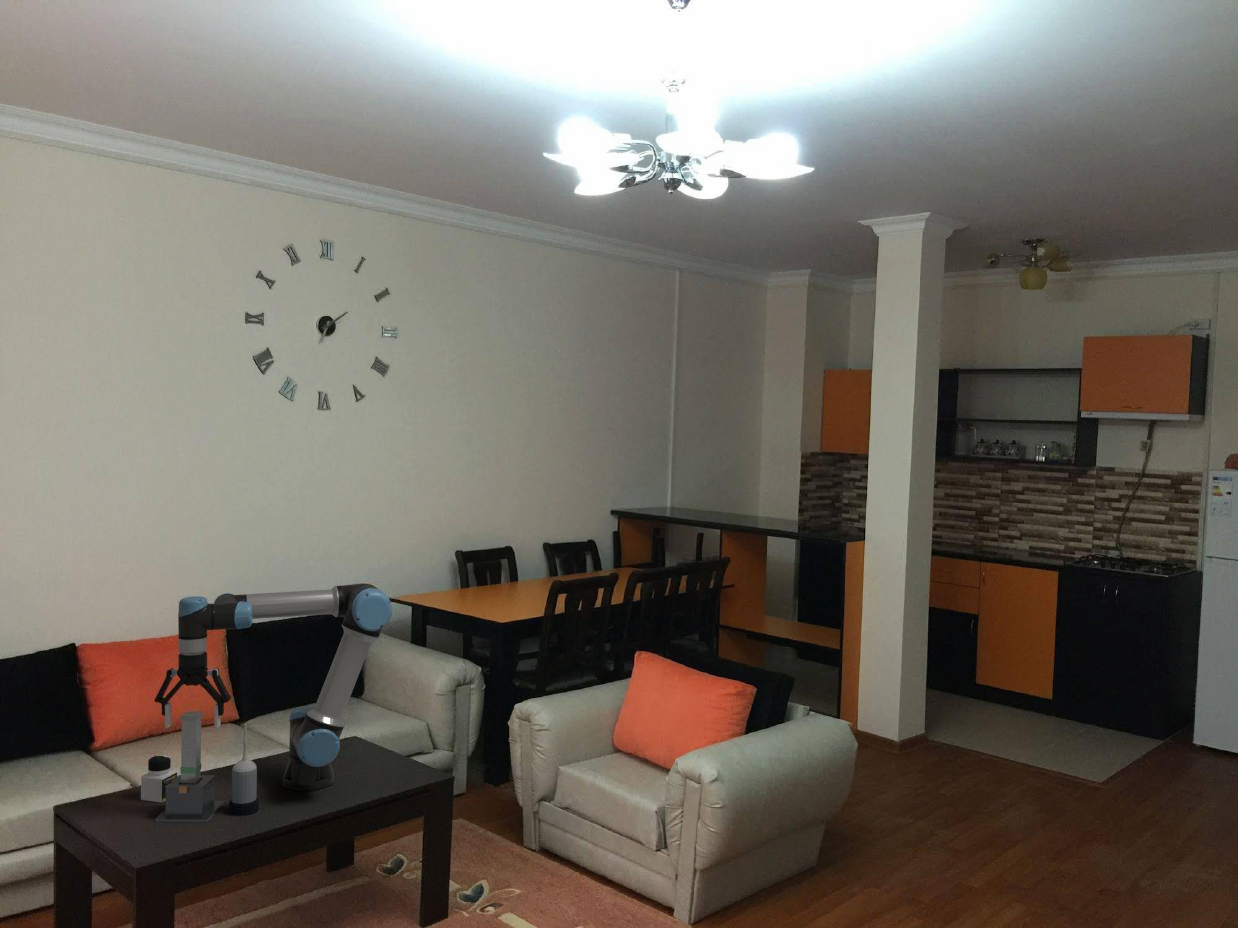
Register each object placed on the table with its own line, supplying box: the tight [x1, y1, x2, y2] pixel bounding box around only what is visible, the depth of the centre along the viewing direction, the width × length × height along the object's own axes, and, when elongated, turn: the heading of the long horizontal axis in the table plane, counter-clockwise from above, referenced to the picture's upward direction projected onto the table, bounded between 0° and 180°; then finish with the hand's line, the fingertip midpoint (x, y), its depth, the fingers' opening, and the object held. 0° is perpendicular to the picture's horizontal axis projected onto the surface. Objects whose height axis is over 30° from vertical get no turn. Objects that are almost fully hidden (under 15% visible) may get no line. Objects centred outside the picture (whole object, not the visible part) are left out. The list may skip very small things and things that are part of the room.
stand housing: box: [154, 774, 225, 823], centre depth 291 cm, size 14×14×9 cm
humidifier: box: [228, 723, 260, 817], centre depth 293 cm, size 8×8×25 cm
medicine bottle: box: [140, 754, 178, 803], centre depth 302 cm, size 7×7×12 cm
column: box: [179, 710, 204, 785], centre depth 290 cm, size 5×5×21 cm
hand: (192, 726), depth 290 cm, fingers open, 13 cm apart
